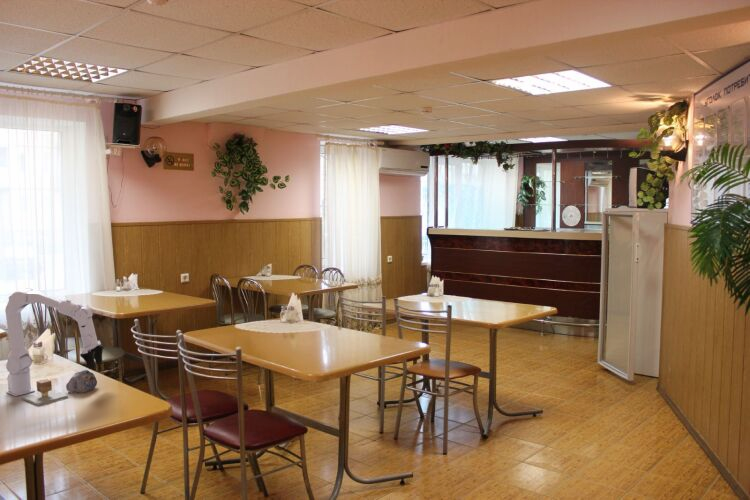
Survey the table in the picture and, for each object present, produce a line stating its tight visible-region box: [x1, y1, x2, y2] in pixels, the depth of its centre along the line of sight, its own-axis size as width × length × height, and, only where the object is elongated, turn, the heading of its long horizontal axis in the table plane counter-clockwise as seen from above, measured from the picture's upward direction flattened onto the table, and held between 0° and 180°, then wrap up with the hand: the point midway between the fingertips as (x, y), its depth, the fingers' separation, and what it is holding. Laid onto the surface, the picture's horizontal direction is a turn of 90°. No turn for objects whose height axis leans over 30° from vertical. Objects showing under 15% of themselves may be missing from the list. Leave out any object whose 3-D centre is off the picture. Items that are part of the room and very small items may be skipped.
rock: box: [65, 369, 98, 394], centre depth 266 cm, size 11×10×10 cm
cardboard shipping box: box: [36, 378, 53, 393], centre depth 255 cm, size 4×4×4 cm
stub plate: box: [21, 389, 69, 407], centre depth 256 cm, size 14×12×3 cm
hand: (95, 365), depth 265 cm, fingers open, 7 cm apart
